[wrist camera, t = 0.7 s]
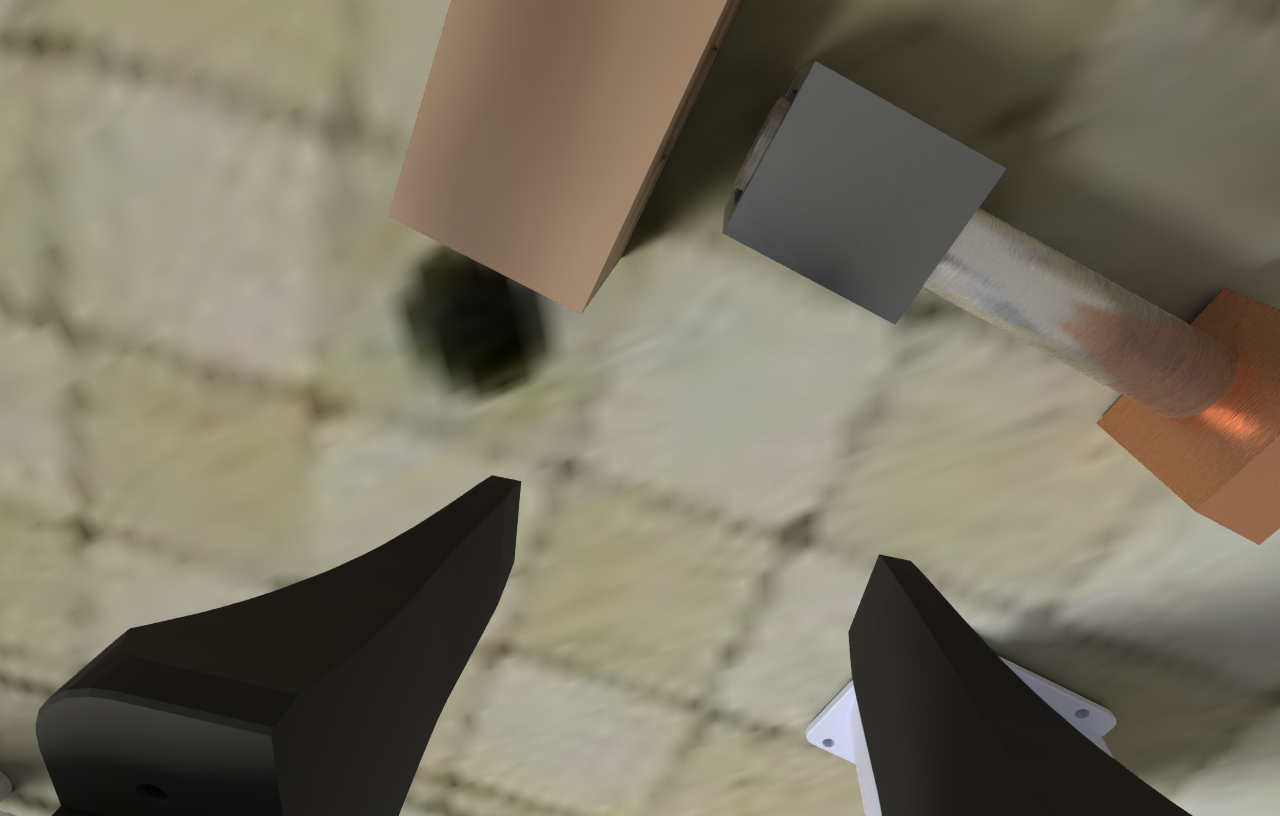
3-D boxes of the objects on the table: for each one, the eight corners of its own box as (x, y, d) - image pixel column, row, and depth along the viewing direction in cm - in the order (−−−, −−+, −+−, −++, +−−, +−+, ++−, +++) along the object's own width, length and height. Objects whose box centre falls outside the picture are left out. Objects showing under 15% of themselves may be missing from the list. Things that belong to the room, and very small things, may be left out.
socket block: (785, -89, 17) (810, -179, 11) (620, 259, 21) (581, 314, 16) (609, -192, 16) (548, -335, 11) (478, 185, 21) (388, 216, 15)
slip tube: (1281, 319, 19) (1449, 387, 15) (1148, 450, 21) (1259, 544, 17) (801, 49, 18) (825, 32, 13) (712, 218, 20) (706, 253, 15)
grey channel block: (952, 154, 19) (1006, 168, 15) (865, 283, 20) (895, 324, 17) (799, 68, 18) (815, 60, 14) (724, 208, 20) (722, 233, 16)
